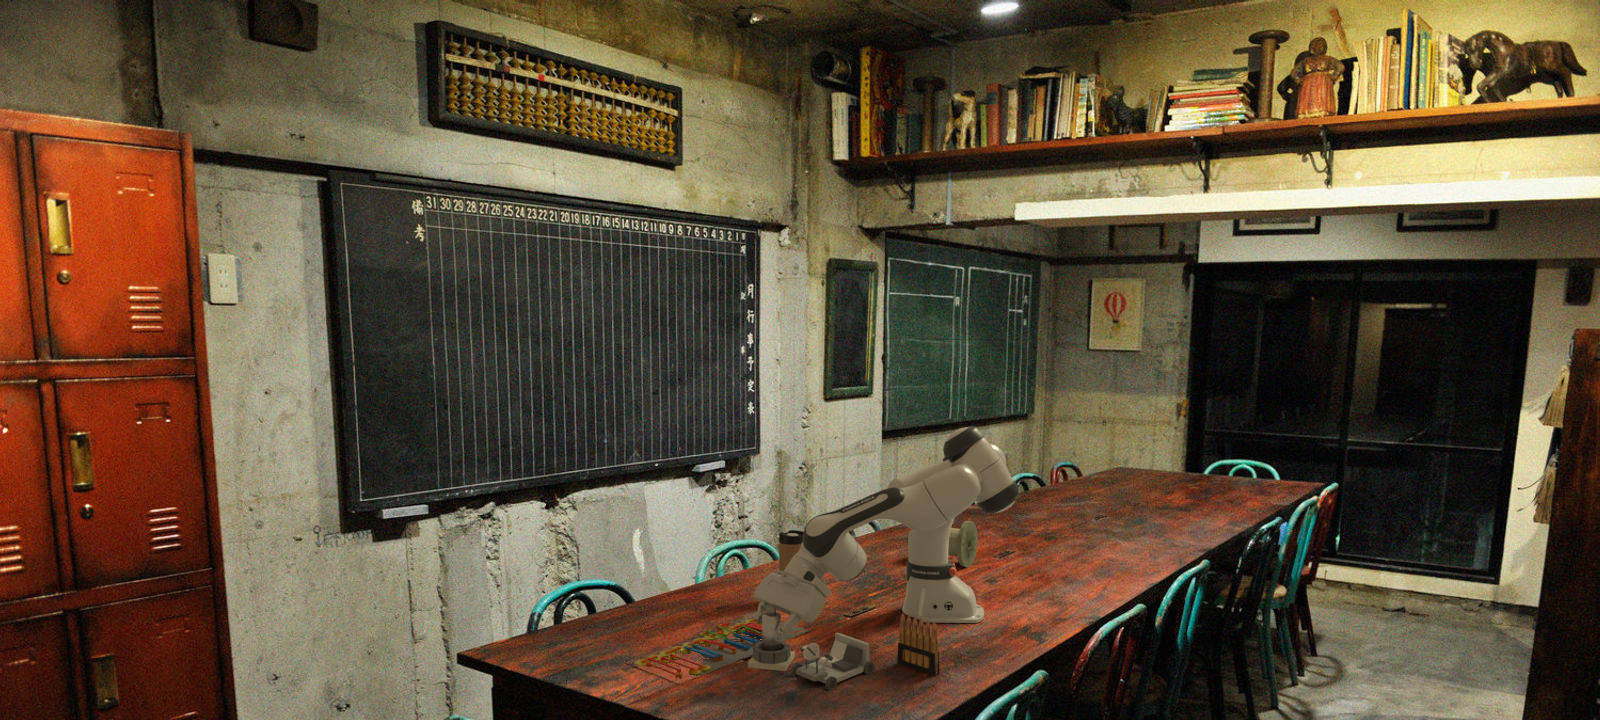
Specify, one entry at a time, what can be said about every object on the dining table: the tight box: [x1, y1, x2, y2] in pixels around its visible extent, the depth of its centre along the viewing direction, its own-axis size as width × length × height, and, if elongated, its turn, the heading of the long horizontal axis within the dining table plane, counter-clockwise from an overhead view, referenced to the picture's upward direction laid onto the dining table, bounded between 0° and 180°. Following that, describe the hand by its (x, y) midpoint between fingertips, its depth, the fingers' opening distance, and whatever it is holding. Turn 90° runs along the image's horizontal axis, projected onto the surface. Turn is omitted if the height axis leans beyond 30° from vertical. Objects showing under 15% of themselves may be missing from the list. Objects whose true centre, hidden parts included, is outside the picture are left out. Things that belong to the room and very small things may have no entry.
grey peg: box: [762, 605, 782, 652], centre depth 199 cm, size 4×4×12 cm
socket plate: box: [747, 641, 796, 672], centre depth 199 cm, size 9×9×4 cm
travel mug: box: [778, 529, 804, 571], centre depth 244 cm, size 8×8×20 cm
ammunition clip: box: [896, 612, 940, 677], centre depth 195 cm, size 11×2×12 cm, turn 47°
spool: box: [948, 520, 979, 568], centre depth 286 cm, size 16×15×15 cm
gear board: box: [634, 617, 811, 679], centre depth 209 cm, size 45×2×19 cm
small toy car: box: [791, 632, 876, 691], centre depth 191 cm, size 18×10×12 cm
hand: (769, 626), depth 198 cm, fingers open, 8 cm apart
